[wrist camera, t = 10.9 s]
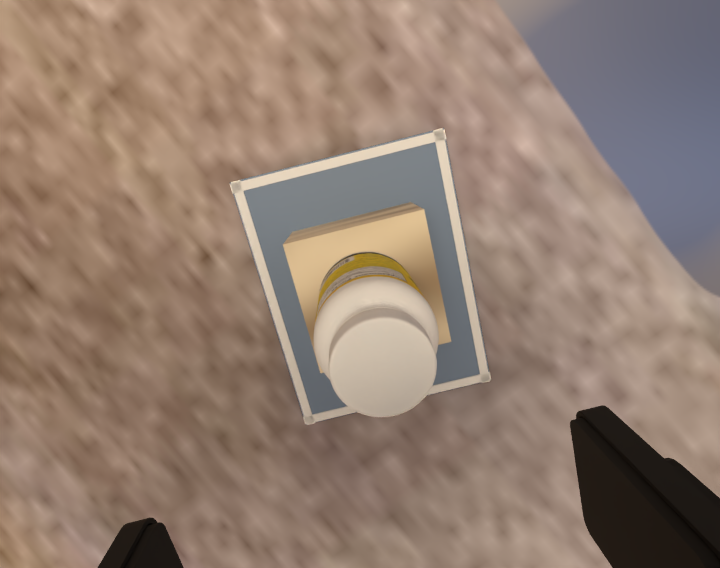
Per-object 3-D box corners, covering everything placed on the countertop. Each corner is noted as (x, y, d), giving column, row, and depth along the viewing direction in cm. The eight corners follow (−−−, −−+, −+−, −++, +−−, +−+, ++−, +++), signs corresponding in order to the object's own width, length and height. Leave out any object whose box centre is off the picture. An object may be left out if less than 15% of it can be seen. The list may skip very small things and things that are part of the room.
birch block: (292, 231, 30) (282, 244, 25) (410, 202, 30) (424, 209, 25) (323, 341, 32) (320, 373, 27) (434, 314, 32) (451, 341, 27)
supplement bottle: (409, 341, 27) (447, 439, 17) (317, 337, 26) (304, 434, 17) (418, 251, 25) (464, 303, 16) (321, 246, 25) (308, 295, 16)
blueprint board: (233, 181, 30) (229, 182, 29) (440, 129, 29) (444, 127, 28) (306, 417, 34) (305, 425, 33) (486, 374, 34) (491, 380, 33)
